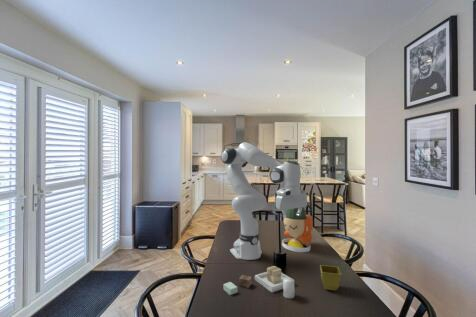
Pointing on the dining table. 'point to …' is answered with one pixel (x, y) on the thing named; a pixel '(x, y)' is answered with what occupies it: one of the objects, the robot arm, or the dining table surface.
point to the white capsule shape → (288, 288)
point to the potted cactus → (298, 230)
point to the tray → (267, 284)
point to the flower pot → (330, 277)
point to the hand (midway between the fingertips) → (292, 216)
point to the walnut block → (245, 281)
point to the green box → (230, 288)
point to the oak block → (274, 274)
